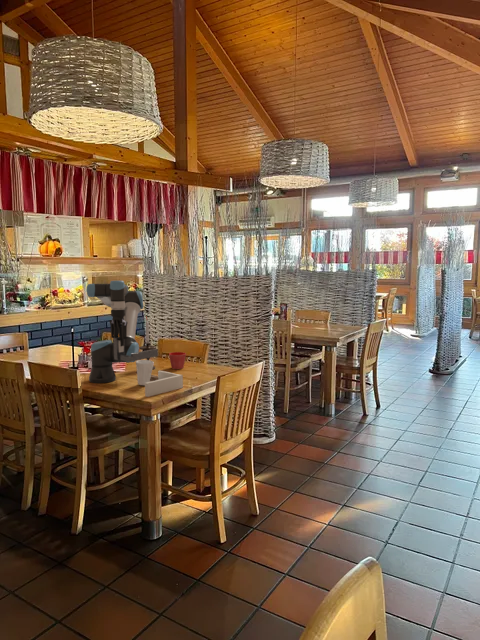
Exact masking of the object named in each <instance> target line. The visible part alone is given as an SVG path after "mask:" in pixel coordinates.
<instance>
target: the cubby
mask: <svg viewBox="0 0 480 640" xmlns="http://www.w3.org/2000/svg"><path fill="white" fill-rule="evenodd" d="M157 376H158V380H155V381H150V382H147V383H145V385H144V396H145V397H147V398H149V397H153V396H157V395H160V394H164V393H168V392H172V391H176V390H179V389H183V387H184V375H183V374H179V373H178V374H177V373H173V372H169V371H165V370H157Z"/></svg>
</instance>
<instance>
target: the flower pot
mask: <svg viewBox="0 0 480 640" xmlns="http://www.w3.org/2000/svg"><path fill="white" fill-rule="evenodd" d="M186 355H187V353H186V352H184V351H183V352H181V351H176V352H175V351H173V352H169V354H168V357H169V361H170V366H171V369H172V370H179V369H180V370H182V369H184V368H185V367H184V366H185V362H186Z"/></svg>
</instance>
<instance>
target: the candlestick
mask: <svg viewBox="0 0 480 640" xmlns="http://www.w3.org/2000/svg"><path fill="white" fill-rule="evenodd" d="M145 318H146V319H145V320H146V322H145V341H146V342H145V345H143V346H139V350H141V351H147V350H152V349H157V346H156V345H150V327H149V326H150V324H149V321H148V317H147V315H146V316H145ZM150 359H151V358H146V359H145V360H150ZM153 370H156V366H154V365H153V369H152V371H153Z"/></svg>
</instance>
